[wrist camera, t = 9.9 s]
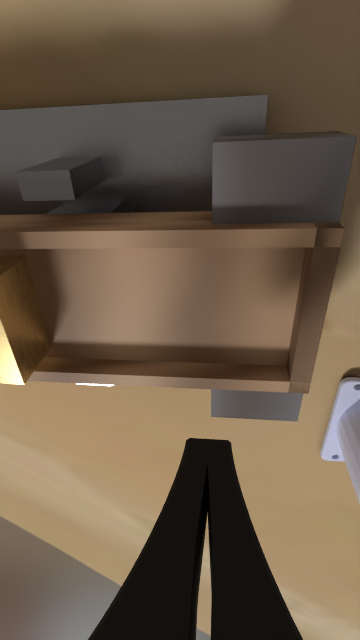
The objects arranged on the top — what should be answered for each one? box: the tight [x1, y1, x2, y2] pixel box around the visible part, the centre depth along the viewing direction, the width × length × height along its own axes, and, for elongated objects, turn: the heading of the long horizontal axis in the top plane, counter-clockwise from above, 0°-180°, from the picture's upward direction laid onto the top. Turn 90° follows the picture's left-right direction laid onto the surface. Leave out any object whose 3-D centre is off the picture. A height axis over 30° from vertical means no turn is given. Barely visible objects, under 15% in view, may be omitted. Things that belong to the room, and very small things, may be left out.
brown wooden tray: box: [0, 131, 357, 421], centre depth 14 cm, size 20×12×3 cm, turn 93°
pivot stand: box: [0, 95, 268, 386], centre depth 16 cm, size 16×14×5 cm
